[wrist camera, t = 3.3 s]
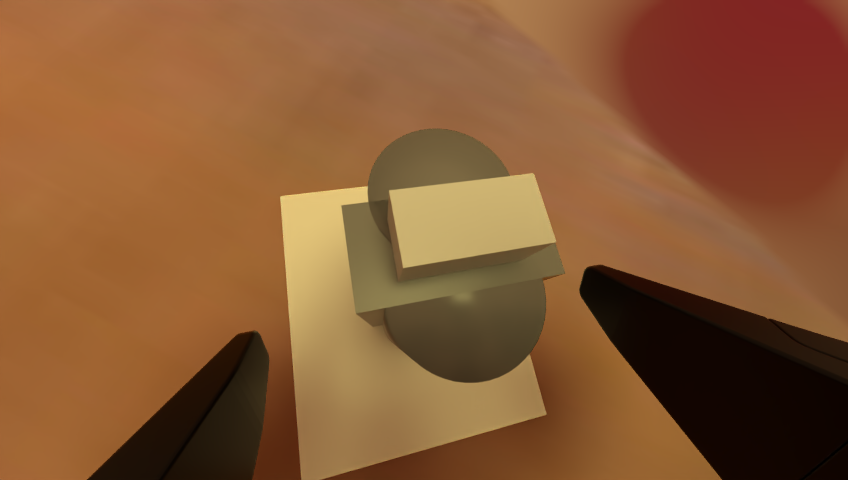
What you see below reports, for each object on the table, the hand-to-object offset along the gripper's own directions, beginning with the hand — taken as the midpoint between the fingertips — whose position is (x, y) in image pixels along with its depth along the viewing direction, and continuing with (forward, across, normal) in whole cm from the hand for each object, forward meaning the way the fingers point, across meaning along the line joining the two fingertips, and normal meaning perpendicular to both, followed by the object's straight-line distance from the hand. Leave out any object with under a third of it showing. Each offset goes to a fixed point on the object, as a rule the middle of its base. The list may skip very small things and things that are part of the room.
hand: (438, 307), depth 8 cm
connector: (+6, 0, +5) cm, 8 cm away
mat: (+7, 0, +5) cm, 9 cm away
